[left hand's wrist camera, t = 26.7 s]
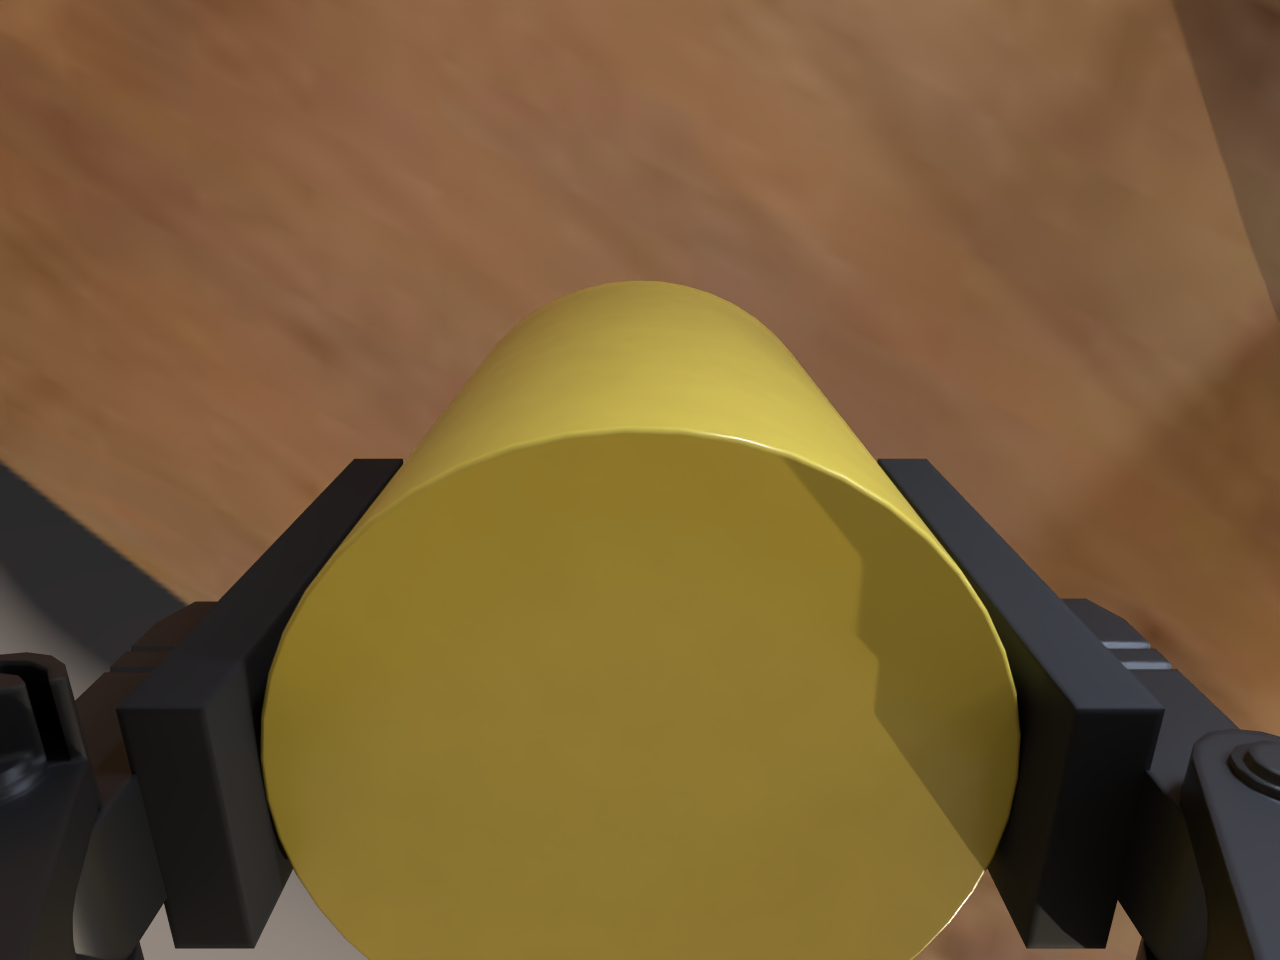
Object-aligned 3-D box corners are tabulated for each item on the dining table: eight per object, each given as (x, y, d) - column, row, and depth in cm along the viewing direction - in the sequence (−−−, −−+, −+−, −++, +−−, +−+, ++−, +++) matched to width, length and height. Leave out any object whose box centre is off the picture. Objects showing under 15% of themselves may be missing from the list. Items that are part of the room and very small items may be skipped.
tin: (376, 444, 17) (95, 747, 8) (668, 193, 15) (705, 239, 7) (617, 690, 19) (597, 1146, 10) (898, 491, 17) (1161, 830, 9)
